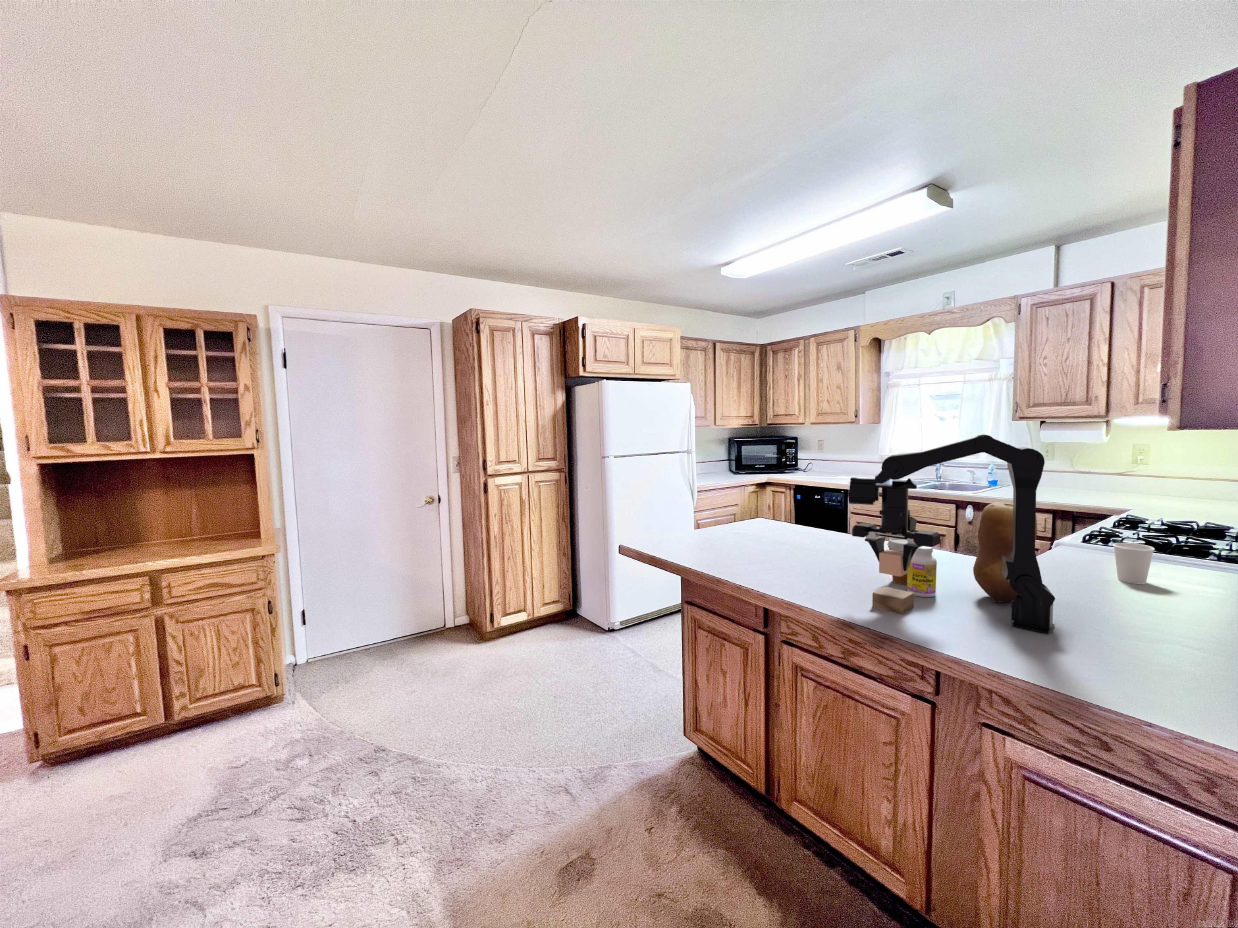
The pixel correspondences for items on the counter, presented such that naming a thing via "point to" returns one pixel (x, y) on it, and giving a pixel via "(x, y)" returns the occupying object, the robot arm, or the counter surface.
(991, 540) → the butternut squash
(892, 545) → the disposable coffee cup
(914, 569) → the supplement bottle
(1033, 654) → the counter surface
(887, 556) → the cube
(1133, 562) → the dixie cup
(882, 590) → the brown box
